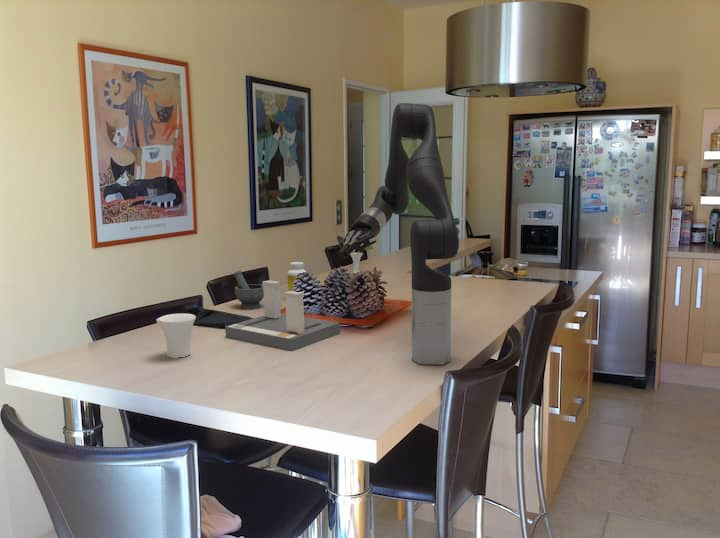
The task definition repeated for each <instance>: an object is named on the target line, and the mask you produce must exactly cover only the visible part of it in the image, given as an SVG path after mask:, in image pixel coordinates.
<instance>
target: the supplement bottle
mask: <svg viewBox="0 0 720 538" xmlns="http://www.w3.org/2000/svg"><path fill="white" fill-rule="evenodd" d="M289 266H290V269H289V270H288V271H287V292H288V291H293V281H294V279H295V278H296V276H297V275H298V274H299V273H303V272H307V271H306V270H305V269H304V266H305V263H304V262H302V261H293V262H290V263H289Z"/></svg>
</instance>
